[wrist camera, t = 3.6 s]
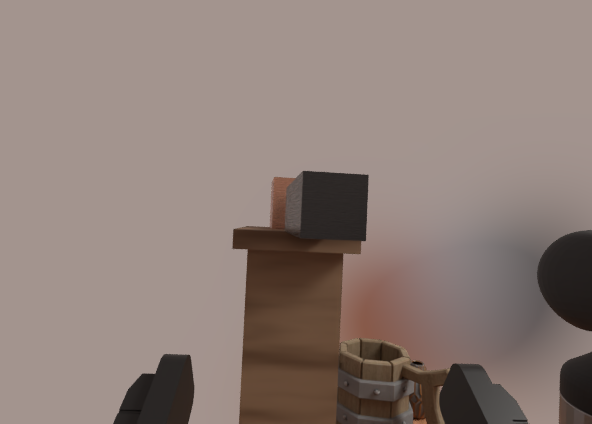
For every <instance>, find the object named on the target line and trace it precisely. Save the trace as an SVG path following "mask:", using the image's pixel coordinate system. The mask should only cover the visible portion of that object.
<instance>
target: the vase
mask: <svg viewBox="0 0 592 424" xmlns="http://www.w3.org/2000/svg"><path fill="white" fill-rule="evenodd" d="M410 365H411V366H413V367H416V368H418V369H420V370H423V371H427V369H426V367H425V365H424V363H423V362H421V361H417V360H412V361H411V364H410ZM409 402H410V405H411V408H412V410H413V418H417V419H423V418H426V417H425V413H424V409H423V405H422V386H421V384H418V383H416V382H414V393H412V394H410V395H409Z"/></svg>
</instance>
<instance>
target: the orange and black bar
mask: <svg viewBox="0 0 592 424" xmlns="http://www.w3.org/2000/svg"><path fill="white" fill-rule="evenodd" d="M367 199H368V175H361V174H344V173H329V172H312V171H303V172H302V173H301V174H300V175H299V176H298V177H297V178H281V177H274V179H273V181H272V191H271V212H270V213H271V215H270V228H272V229H285V232H287V233H289V234H292V235H294V236H296V237H298V238H303V239H327V240H352V241H366V223H367Z"/></svg>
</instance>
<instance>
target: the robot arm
mask: <svg viewBox="0 0 592 424" xmlns="http://www.w3.org/2000/svg"><path fill="white" fill-rule="evenodd" d="M537 277H538V284H539V287H540V290H541V293H542V295H543V297H544V298H545V300H546V301H547V303H548V305H549V306H550V307H551V308H552V309H553V310H554V312H555V313H557V315H559V316H560V317H561V318H563V319H564V320H565V321H566V322H568V323H570V324H572V325H573V326H575V327H578V328H580V329H583V330H587V331H592V230H587V231H579V232H574V233H570V234H567V235H565V236H563V237H561V238H559V239H558V240H556V241H555V242H553V243H552V244H551V245H550V246H549V247H548V248H547V250H546V251H545V252H544V254H543V255H542V257H541V259H540V262H539V265H538V272H537ZM193 398H194V381H193V372H192V364H191V357H190V355H177V354H176V355H175V354H174V355H173V354H165V355H163V357H162V358H161V360H160V363H159V365H158V368H157V371H156V374H142V375H141V376H140V377H139V378H138V379H137V380H136V382H135V383H134V384H133V385H132V386H131V387H130V388H129V389H128V391H127V393H126V396H125V398H124V400H123V403H122V405H121V407H120V411H119V413H118V414H117V416H116V419H115V421H114V423H113V424H188V421H189V417H190V413H191V409H192V404H193ZM439 405H440V411H441V414H442V417H443V420H444V422H445V424H528V422H527V418H526V417H525V415H524V413H523V412H522V410H521V408H520V407H519V405H518V403H517V401H516V400H515V399H514V398H513V397H512V396H511V395H510V394H509V393H508V392H507V391H506V390H505V389H504V388H503V387H502V386H501V385H500V384H492V382H491V380H490V378H489V377H488V375H487V373H486V371H485V370H484V369H483V367H482V366H480V365H478V364H453V365H452V366H451V368H450V370H449V373H448V375H447V378H446V380H445V382H444V385H443V387H442V390H441V392H440V396H439ZM559 424H592V352H590V353H588V354H585V355H582V356H579V357H576V358H573V359H570V360H568V361H567V362H566V363H565V364H564V365H563V366H562V368H561V372H560V402H559Z"/></svg>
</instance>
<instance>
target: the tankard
mask: <svg viewBox="0 0 592 424" xmlns="http://www.w3.org/2000/svg"><path fill="white" fill-rule="evenodd" d="M410 364H411V359H410V357H409V355H408V354H407V351H406V350H405V348H403V347H400V346H398V345H395V344H392V343H390V342H387V341H383V342H382V340H376V339H364V338H359V339H358V338H357V339H353V340H348V341H344V342H341V343H340V349H339V363H338V387H337V409H336V424H413V410H412V408H411V405H410V402H409V395H410V394H412V393H414V382H416V383H418V384H421V386H422V405H423V409H424V413H425V417H426V421H427V424H445V422H444V420H443V417H442V414H441V411H440V405H439V396H440V390H439V386H443V385H444V382H445V380H446V378H447V375H448V373H449V370H450V368H449V369H443V370H435V371H423V370H420V369H418V368H416V367H413V366H411V365H410Z"/></svg>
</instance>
